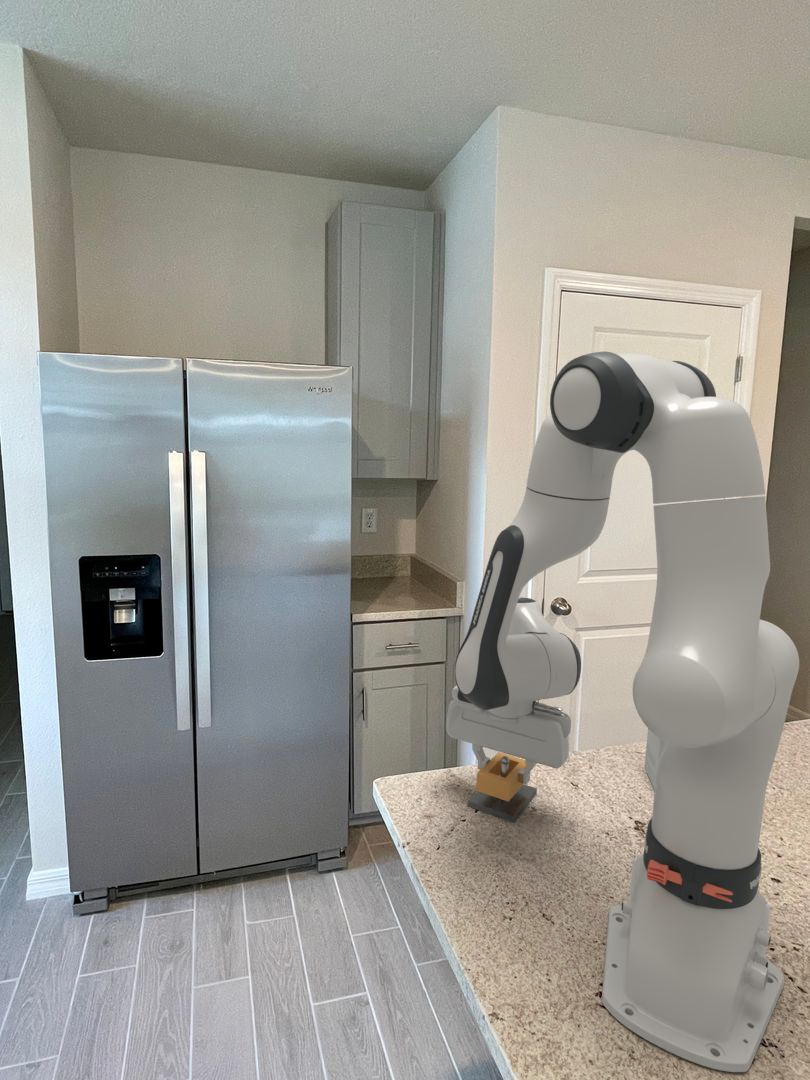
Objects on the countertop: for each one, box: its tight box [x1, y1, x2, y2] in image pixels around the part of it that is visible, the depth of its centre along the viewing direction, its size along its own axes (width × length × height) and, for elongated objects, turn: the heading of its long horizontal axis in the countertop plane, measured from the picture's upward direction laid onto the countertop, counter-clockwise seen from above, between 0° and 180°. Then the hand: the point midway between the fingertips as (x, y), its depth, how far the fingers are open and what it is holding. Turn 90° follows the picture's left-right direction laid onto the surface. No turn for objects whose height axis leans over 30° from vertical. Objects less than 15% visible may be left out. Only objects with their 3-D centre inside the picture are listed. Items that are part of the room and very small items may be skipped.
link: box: [475, 751, 529, 802], centre depth 105 cm, size 9×6×3 cm, turn 148°
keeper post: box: [467, 756, 538, 823], centre depth 105 cm, size 10×8×8 cm
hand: (503, 775), depth 105 cm, fingers closed on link, 6 cm apart
